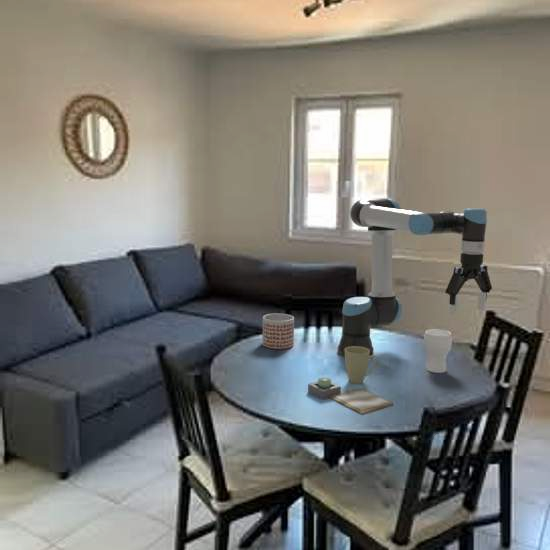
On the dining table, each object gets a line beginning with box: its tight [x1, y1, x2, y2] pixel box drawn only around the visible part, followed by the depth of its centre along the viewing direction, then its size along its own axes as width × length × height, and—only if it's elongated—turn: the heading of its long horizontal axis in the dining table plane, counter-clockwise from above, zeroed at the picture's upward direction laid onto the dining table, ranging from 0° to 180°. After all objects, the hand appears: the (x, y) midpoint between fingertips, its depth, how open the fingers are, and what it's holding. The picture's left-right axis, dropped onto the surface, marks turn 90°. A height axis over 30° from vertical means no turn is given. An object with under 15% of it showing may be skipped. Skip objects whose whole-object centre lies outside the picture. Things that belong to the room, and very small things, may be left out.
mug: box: [344, 346, 380, 385], centre depth 207 cm, size 11×10×12 cm
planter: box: [262, 313, 295, 351], centre depth 249 cm, size 14×14×13 cm
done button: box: [317, 376, 332, 389], centre depth 196 cm, size 4×4×3 cm
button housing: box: [307, 380, 342, 401], centre depth 196 cm, size 8×8×3 cm
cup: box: [422, 328, 453, 374], centre depth 220 cm, size 11×11×15 cm
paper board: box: [328, 387, 394, 415], centre depth 190 cm, size 16×14×1 cm
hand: (467, 311), depth 203 cm, fingers open, 13 cm apart
